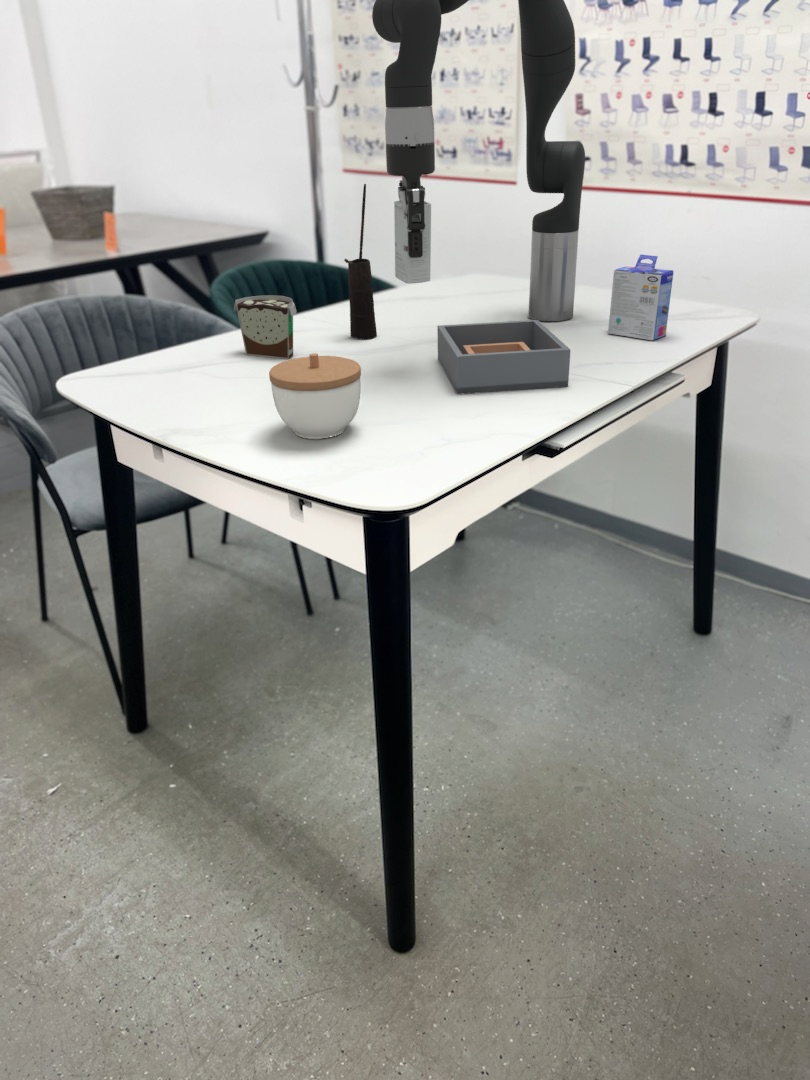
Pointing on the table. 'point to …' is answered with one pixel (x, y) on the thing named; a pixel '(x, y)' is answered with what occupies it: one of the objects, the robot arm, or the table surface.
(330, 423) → the lidded bowl
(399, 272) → the skincare box
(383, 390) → the table surface
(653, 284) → the ink cartridge box
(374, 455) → the table surface
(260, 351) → the food container
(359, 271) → the butter churn
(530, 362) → the walled box
